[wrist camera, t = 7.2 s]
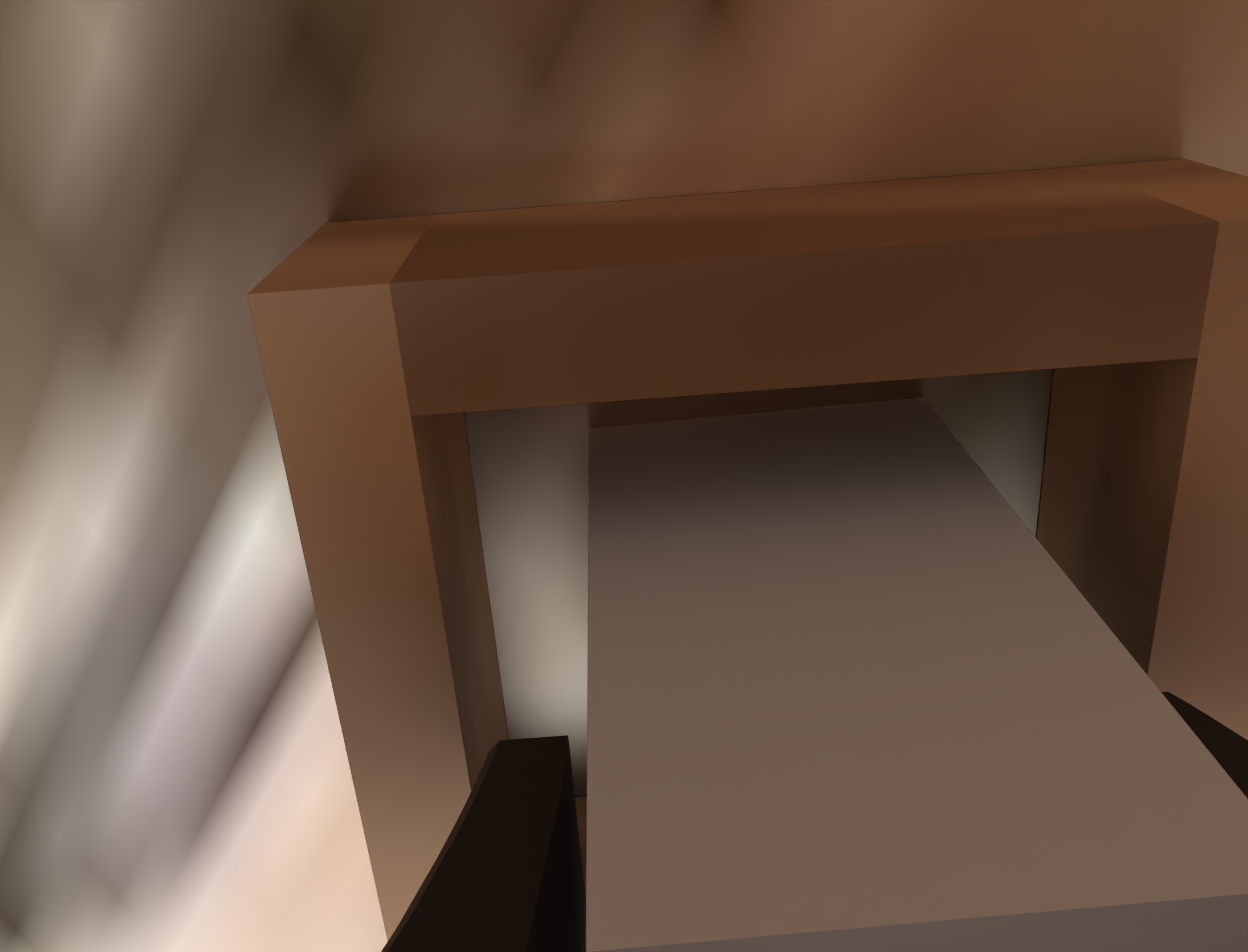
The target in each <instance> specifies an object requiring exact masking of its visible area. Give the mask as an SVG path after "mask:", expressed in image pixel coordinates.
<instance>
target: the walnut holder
mask: <svg viewBox="0 0 1248 952" xmlns="http://www.w3.org/2000/svg"><path fill="white" fill-rule="evenodd" d="M247 296H248V301H249V305H250V310H251V315H252V319H253V324H254V328H255V333H256V338H257V342H258V347H259V351H260V356H261V361H262V365H263V370H264V374H265V379H266V384H267V388H268V393H269V397H270V402H271V407H272V411H273V416H274V420H275V425H276V429H277V434H278V439H279V443H280V448H281V452H282V457H283V462H284V466H285V471H286V475H287V480H288V485H289V489H290V494H291V498H292V503H293V508H294V512H295V517H296V521H297V526H298V531H299V535H300V540H301V544H302V549H303V554H304V558H305V563H306V567H307V572H308V576H309V581H310V586H311V590H312V595H313V599H314V604H315V609H316V613H317V618H318V622H319V627H320V632H321V636H322V641H323V645H324V650H325V655H326V659H327V664H328V668H329V673H330V678H331V682H332V687H333V691H334V696H335V701H336V705H337V710H338V714H339V719H340V723H341V728H342V733H343V737H344V742H345V746H346V751H347V756H348V760H349V765H350V769H351V774H352V779H353V783H354V788H355V792H356V797H357V802H358V806H359V811H360V815H361V820H362V825H363V829H364V834H365V838H366V843H367V848H368V852H369V857H370V861H371V866H372V870H373V875H374V880H375V884H376V889H377V893H378V898H379V903H380V907H381V912H382V916H383V921H384V926H385V930H386V935H387V939H388V941H389V939H390V937H391V936H392V934H393V933H394V931H395V929H396V928H397V926H398V924H399V923H400V921H401V919H402V918H403V916H404V914H405V913H406V911H407V909H408V907H409V906H410V904H411V902H412V900H413V899H414V897H415V895H416V894H417V892H418V890H419V888H420V887H421V885H422V883H423V881H424V880H425V878H426V876H427V875H428V873H429V871H430V869H431V868H432V866H433V864H434V862H435V861H436V859H437V857H438V855H439V854H440V852H441V850H442V848H443V846H444V844H445V842H446V840H447V838H448V837H449V835H450V833H451V831H452V829H453V827H454V825H455V823H456V821H457V819H458V817H459V816H460V814H461V812H462V810H463V808H464V806H465V804H466V801H467V799H468V797H469V795H470V793H471V791H472V789H473V787H474V785H475V782H476V780H477V778H478V776H479V774H480V771H481V769H482V767H483V764H484V762H485V760H486V757H487V755H488V752H489V751H490V750H491V749H492V748H493V747H494V746H495V745H496V744H497V743H498V742H499V741H500V740H509V737H508V730H507V723H506V716H505V709H504V702H503V694H502V687H501V680H500V673H499V666H498V658H497V651H496V644H495V637H494V630H493V623H492V615H491V608H490V601H489V594H488V587H487V580H486V572H485V565H484V558H483V551H482V544H481V537H480V529H479V522H478V515H477V508H476V501H475V494H474V486H473V479H472V472H471V465H470V458H469V451H468V443H467V436H466V429H465V422H464V415H463V412H474V411H487V410H501V409H514V408H528V407H541V406H555V405H568V404H582V403H595V402H609V401H622V400H636V399H649V398H663V397H676V396H690V395H703V394H717V393H730V392H744V391H757V390H770V389H784V388H797V387H811V386H824V385H838V384H851V383H865V382H878V381H892V380H905V379H919V378H932V377H946V376H959V375H973V374H986V373H1000V372H1013V371H1027V370H1040V369H1054V373H1053V383H1052V393H1051V403H1050V413H1049V423H1048V433H1047V442H1046V452H1045V462H1044V472H1043V482H1042V492H1041V502H1040V511H1039V521H1038V531H1037V540H1038V541H1039V542H1040V543H1041V545H1042V546H1043V547H1044V548H1045V550H1046V551H1047V552H1048V553H1049V555H1050V556H1051V557H1052V558H1053V560H1054V561H1055V562H1056V563H1057V564H1058V566H1059V567H1060V568H1061V569H1062V571H1063V572H1064V573H1065V574H1066V576H1067V577H1068V578H1069V579H1070V580H1071V582H1072V583H1073V584H1074V585H1075V587H1076V588H1077V589H1078V590H1079V592H1080V593H1081V594H1082V595H1083V597H1084V598H1085V599H1086V600H1087V601H1088V603H1089V604H1090V605H1091V606H1092V608H1093V609H1094V610H1095V611H1096V613H1097V614H1098V615H1099V616H1100V617H1101V619H1102V620H1103V621H1104V622H1105V624H1106V625H1107V626H1108V627H1109V629H1110V630H1111V631H1112V632H1113V633H1114V635H1115V636H1116V637H1117V638H1118V640H1119V641H1120V642H1121V643H1122V645H1123V646H1124V647H1125V648H1126V650H1127V651H1128V652H1129V653H1130V654H1131V656H1132V657H1133V658H1134V659H1135V661H1136V662H1137V663H1138V664H1139V666H1140V667H1141V668H1142V669H1143V670H1144V672H1145V673H1146V674H1147V675H1148V677H1149V678H1150V679H1151V680H1152V682H1153V683H1154V684H1155V685H1156V686H1157V688H1158V689H1159V690H1160V691H1161V692H1170V693H1172V694H1173V695H1175V696H1177V697H1179V698H1180V699H1182V700H1184V701H1185V702H1187V703H1189V704H1191V705H1192V706H1194V707H1196V708H1197V709H1199V710H1201V711H1202V712H1204V713H1205V714H1207V715H1209V716H1210V717H1212V718H1213V719H1215V720H1217V721H1218V722H1220V723H1221V724H1223V725H1225V726H1226V727H1228V728H1229V729H1231V730H1232V731H1234V732H1236V733H1237V734H1239V735H1240V736H1242V737H1243V738H1245V739H1246V740H1248V177H1245V176H1242V175H1238V174H1235V173H1231V172H1228V171H1225V170H1221V169H1218V168H1214V167H1211V166H1208V165H1204V164H1201V163H1197V162H1194V161H1191V160H1187V159H1172V160H1159V161H1146V162H1132V163H1119V164H1106V165H1092V166H1079V167H1065V168H1052V169H1039V170H1025V171H1012V172H999V173H985V174H972V175H958V176H945V177H932V178H918V179H905V180H892V181H878V182H865V183H851V184H838V185H825V186H811V187H798V188H785V189H771V190H758V191H744V192H731V193H718V194H704V195H691V196H677V197H664V198H651V199H637V200H624V201H611V202H597V203H584V204H570V205H557V206H544V207H530V208H517V209H504V210H490V211H477V212H463V213H450V214H437V215H423V216H410V217H397V218H383V219H370V220H356V221H343V222H330V223H325V224H324V225H323V226H322V227H321V228H320V229H319V230H318V231H317V232H315V233H314V234H313V235H312V236H311V237H310V238H309V239H308V240H307V241H305V242H304V243H303V244H302V245H301V246H300V247H299V248H298V249H297V250H296V251H294V252H293V253H292V254H291V255H290V256H289V257H288V258H287V259H286V260H284V261H283V262H282V263H281V264H280V265H279V266H278V267H277V268H276V269H274V270H273V271H272V272H271V273H270V274H269V275H268V276H267V277H266V278H264V279H263V280H262V281H261V282H260V283H259V284H258V285H257V286H256V287H254V288H253V289H252V290H251V291H250V292H249V293H248V294H247ZM575 803H576V812H577V821H578V830H579V839H580V848H581V857H582V866H583V875H584V884H585V893H586V864H587V796H585V797H575Z"/></svg>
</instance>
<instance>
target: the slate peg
mask: <svg viewBox="0 0 1248 952" xmlns="http://www.w3.org/2000/svg"><path fill="white" fill-rule="evenodd" d="M586 952H1248V799H1247V797H1246V796H1245V795H1244V794H1243V793H1242V791H1241V790H1240V789H1239V788H1238V786H1237V785H1236V784H1235V783H1234V781H1233V780H1232V779H1231V778H1230V776H1229V775H1228V774H1227V773H1226V772H1225V770H1224V769H1223V768H1222V767H1221V765H1220V764H1219V763H1218V762H1217V760H1216V759H1215V758H1214V757H1213V756H1212V754H1211V753H1210V752H1209V751H1208V749H1207V748H1206V747H1205V746H1204V744H1203V743H1202V742H1201V741H1200V740H1199V738H1198V737H1197V736H1196V735H1195V733H1194V732H1193V731H1192V730H1191V728H1190V727H1189V726H1188V725H1187V723H1186V722H1185V721H1184V720H1183V719H1182V717H1181V716H1180V715H1179V714H1178V712H1177V711H1176V710H1175V709H1174V707H1173V706H1172V705H1171V704H1170V703H1169V701H1168V700H1167V699H1166V698H1165V696H1164V695H1163V694H1162V693H1161V691H1160V690H1159V689H1158V688H1157V686H1156V685H1155V684H1154V683H1153V682H1152V680H1151V679H1150V678H1149V677H1148V675H1147V674H1146V673H1145V672H1144V670H1143V669H1142V668H1141V667H1140V666H1139V664H1138V663H1137V662H1136V661H1135V659H1134V658H1133V657H1132V656H1131V654H1130V653H1129V652H1128V651H1127V650H1126V648H1125V647H1124V646H1123V645H1122V643H1121V642H1120V641H1119V640H1118V638H1117V637H1116V636H1115V635H1114V633H1113V632H1112V631H1111V630H1110V629H1109V627H1108V626H1107V625H1106V624H1105V622H1104V621H1103V620H1102V619H1101V617H1100V616H1099V615H1098V614H1097V613H1096V611H1095V610H1094V609H1093V608H1092V606H1091V605H1090V604H1089V603H1088V601H1087V600H1086V599H1085V598H1084V597H1083V595H1082V594H1081V593H1080V592H1079V590H1078V589H1077V588H1076V587H1075V585H1074V584H1073V583H1072V582H1071V580H1070V579H1069V578H1068V577H1067V576H1066V574H1065V573H1064V572H1063V571H1062V569H1061V568H1060V567H1059V566H1058V564H1057V563H1056V562H1055V561H1054V560H1053V558H1052V557H1051V556H1050V555H1049V553H1048V552H1047V551H1046V550H1045V548H1044V547H1043V546H1042V545H1041V543H1040V542H1039V541H1038V540H1037V539H1036V537H1035V536H1034V535H1033V534H1032V532H1031V531H1030V530H1029V529H1028V527H1027V526H1026V525H1025V524H1024V523H1023V521H1022V520H1021V519H1020V518H1019V516H1018V515H1017V514H1016V513H1015V511H1014V510H1013V509H1012V508H1011V507H1010V505H1009V504H1008V503H1007V502H1006V500H1005V499H1004V498H1003V497H1002V495H1001V494H1000V493H999V492H998V490H997V489H996V488H995V487H994V486H993V484H992V483H991V482H990V481H989V479H988V478H987V477H986V476H985V474H984V473H983V472H982V471H981V470H980V468H979V467H978V466H977V465H976V463H975V462H974V461H973V460H972V458H971V457H970V456H969V455H968V454H967V452H966V451H965V450H964V449H963V447H962V446H961V445H960V444H959V442H958V441H957V440H956V439H955V437H954V436H953V435H952V434H951V433H950V431H949V430H948V429H947V428H946V426H945V425H944V424H943V423H942V421H941V420H940V419H939V418H938V417H937V415H936V414H935V413H934V412H933V410H932V409H931V408H930V407H929V405H928V404H927V403H926V402H925V400H924V399H923V398H912V399H901V400H890V401H879V402H869V403H858V404H847V405H837V406H826V407H815V408H805V409H794V410H783V411H773V412H762V413H751V414H741V415H730V416H719V417H708V418H698V419H687V420H676V421H666V422H655V423H644V424H634V425H623V426H612V427H602V428H591V429H589V533H588V699H587V864H586Z"/></svg>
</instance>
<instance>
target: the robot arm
mask: <svg viewBox="0 0 1248 952" xmlns="http://www.w3.org/2000/svg"><path fill="white" fill-rule="evenodd" d="M1161 693H1162V694H1163V695H1164V696H1165V698H1166V699H1167V700H1168V701H1169V703H1170V704H1171V705H1172V706H1173V707H1174V709H1175V710H1176V711H1177V712H1178V714H1179V715H1180V716H1181V717H1182V719H1183V720H1184V721H1185V722H1186V723H1187V725H1188V726H1189V727H1190V728H1191V730H1192V731H1193V732H1194V733H1195V735H1196V736H1197V737H1198V738H1199V740H1200V741H1201V742H1202V743H1203V744H1204V746H1205V747H1206V748H1207V749H1208V751H1209V752H1210V753H1211V754H1212V756H1213V757H1214V758H1215V759H1216V760H1217V762H1218V763H1219V764H1220V765H1221V767H1222V768H1223V769H1224V770H1225V772H1226V773H1227V774H1228V775H1229V776H1230V778H1231V779H1232V780H1233V781H1234V783H1235V784H1236V785H1237V786H1238V788H1239V789H1240V790H1241V791H1242V793H1243V794H1244V795H1245V796H1246V797H1247V799H1248V740H1246V739H1245V738H1243V737H1242V736H1240V735H1239V734H1237V733H1236V732H1234V731H1232V730H1231V729H1229V728H1228V727H1226V726H1225V725H1223V724H1221V723H1220V722H1218V721H1217V720H1215V719H1213V718H1212V717H1210V716H1209V715H1207V714H1205V713H1204V712H1202V711H1201V710H1199V709H1197V708H1196V707H1194V706H1192V705H1191V704H1189V703H1187V702H1185V701H1184V700H1182V699H1180V698H1179V697H1177V696H1175V695H1173V694H1172V693H1170V692H1161ZM381 952H586V893H585V884H584V875H583V866H582V857H581V848H580V839H579V830H578V821H577V812H576V803H575V794H574V785H573V776H572V767H571V758H570V749H569V740H568V735H567V736H553V737H540V738H526V739H513V740H500V741H499V742H498V743H497V744H496V745H495V746H494V747H493V748H492V749H491V750H490V751H489V752H488V755H487V757H486V760H485V762H484V764H483V767H482V769H481V771H480V774H479V776H478V778H477V780H476V782H475V785H474V787H473V789H472V791H471V793H470V795H469V797H468V799H467V801H466V804H465V806H464V808H463V810H462V812H461V814H460V816H459V817H458V819H457V821H456V823H455V825H454V827H453V829H452V831H451V833H450V835H449V837H448V838H447V840H446V842H445V844H444V846H443V848H442V850H441V852H440V854H439V855H438V857H437V859H436V861H435V862H434V864H433V866H432V868H431V869H430V871H429V873H428V875H427V876H426V878H425V880H424V881H423V883H422V885H421V887H420V888H419V890H418V892H417V894H416V895H415V897H414V899H413V900H412V902H411V904H410V906H409V907H408V909H407V911H406V913H405V914H404V916H403V918H402V919H401V921H400V923H399V924H398V926H397V928H396V929H395V931H394V933H393V934H392V936H391V937H390V939H389V941H388V942H387V944H386V945H385V947H384V948H383V950H382V951H381Z"/></svg>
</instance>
